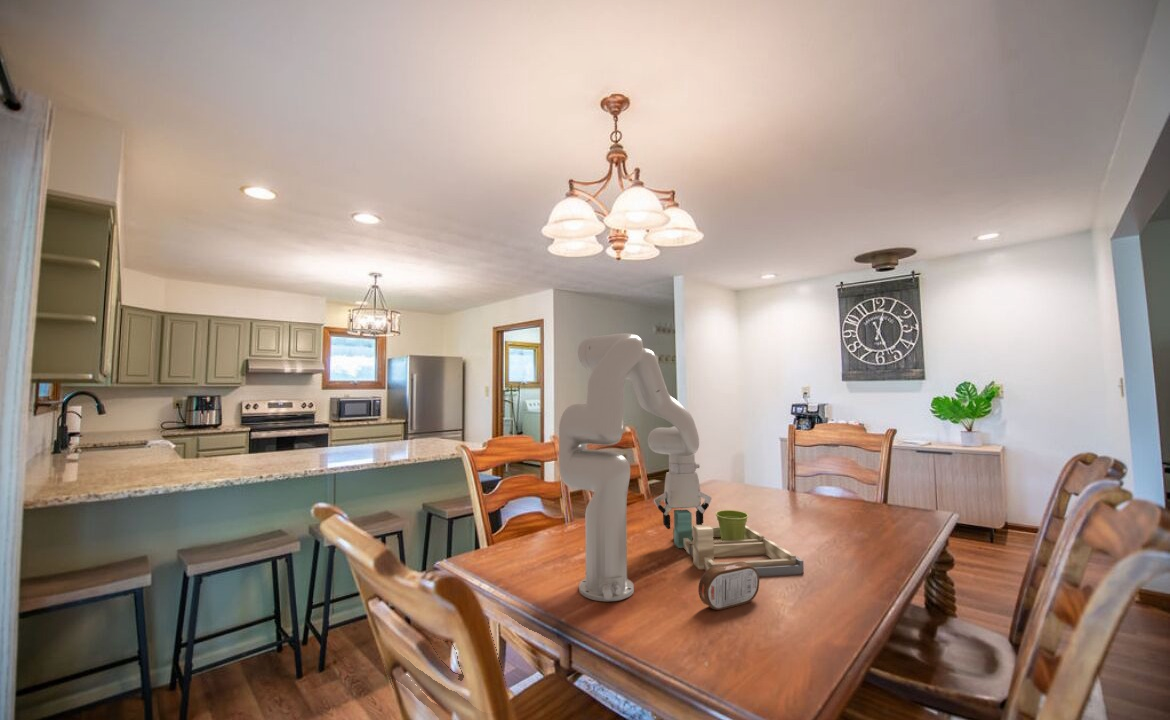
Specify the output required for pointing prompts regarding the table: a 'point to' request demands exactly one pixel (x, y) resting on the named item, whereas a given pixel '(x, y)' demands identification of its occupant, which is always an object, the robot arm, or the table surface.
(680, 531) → the pot
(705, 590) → the tin
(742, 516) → the plant pot
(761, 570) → the rack
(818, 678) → the table surface
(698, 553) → the frame
